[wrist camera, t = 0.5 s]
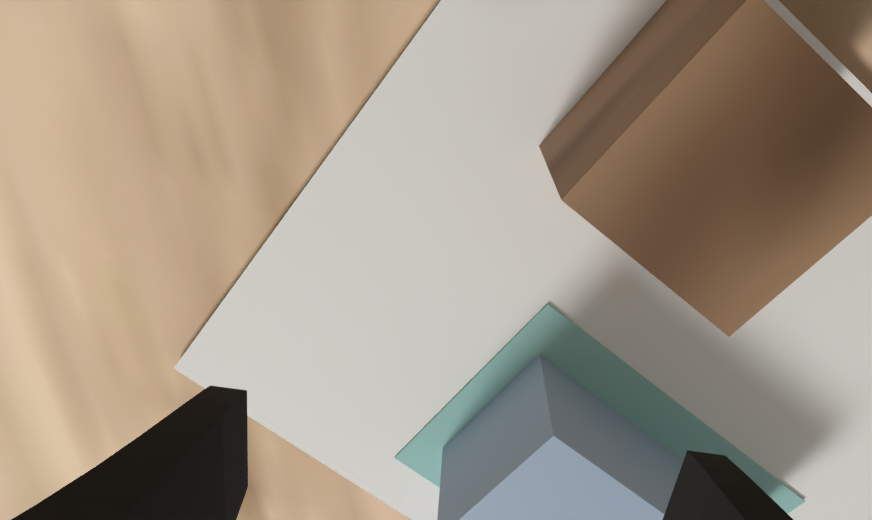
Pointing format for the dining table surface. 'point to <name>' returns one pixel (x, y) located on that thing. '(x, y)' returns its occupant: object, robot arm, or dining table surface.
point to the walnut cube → (718, 155)
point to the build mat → (523, 286)
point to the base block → (553, 457)
